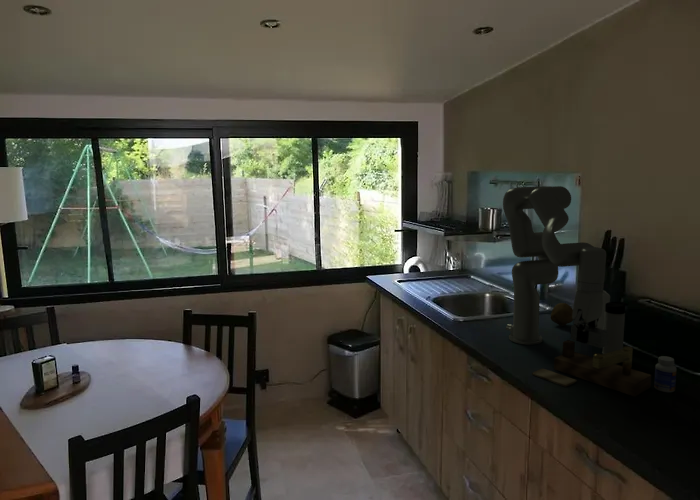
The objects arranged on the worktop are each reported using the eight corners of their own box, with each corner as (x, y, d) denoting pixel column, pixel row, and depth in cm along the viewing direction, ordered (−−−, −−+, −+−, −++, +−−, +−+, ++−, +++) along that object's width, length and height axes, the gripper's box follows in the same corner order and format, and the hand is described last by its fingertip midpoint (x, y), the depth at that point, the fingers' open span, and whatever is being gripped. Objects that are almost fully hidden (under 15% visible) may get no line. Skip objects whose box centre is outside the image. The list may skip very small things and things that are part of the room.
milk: (590, 342, 188) (593, 287, 184) (587, 337, 193) (589, 283, 190) (607, 343, 186) (610, 287, 182) (603, 338, 192) (606, 283, 188)
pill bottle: (675, 394, 144) (677, 363, 143) (653, 390, 147) (656, 360, 146) (674, 387, 149) (677, 357, 147) (653, 383, 152) (656, 353, 150)
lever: (625, 371, 151) (627, 344, 150) (632, 374, 149) (634, 347, 148) (590, 381, 145) (592, 354, 144) (597, 384, 143) (599, 356, 142)
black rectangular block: (570, 338, 161) (571, 325, 160) (578, 335, 163) (578, 322, 162) (600, 348, 153) (601, 334, 152) (607, 344, 155) (609, 331, 154)
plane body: (553, 369, 165) (554, 343, 163) (570, 361, 170) (571, 337, 169) (634, 396, 144) (636, 367, 142) (650, 387, 149) (652, 359, 148)
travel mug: (625, 360, 169) (629, 305, 166) (605, 360, 171) (608, 304, 168) (619, 354, 176) (623, 300, 172) (600, 353, 177) (603, 299, 174)
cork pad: (531, 374, 161) (531, 372, 161) (542, 369, 164) (542, 368, 164) (565, 387, 151) (565, 385, 151) (576, 381, 155) (576, 380, 154)
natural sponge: (579, 327, 205) (580, 304, 203) (563, 330, 202) (564, 307, 200) (562, 321, 213) (563, 299, 212) (546, 324, 210) (547, 302, 208)
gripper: (592, 279, 163) (588, 330, 166) (564, 288, 153) (560, 342, 157) (615, 283, 157) (610, 337, 160) (587, 293, 147) (582, 350, 151)
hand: (585, 339), depth 159 cm, fingers closed on black rectangular block, 4 cm apart
